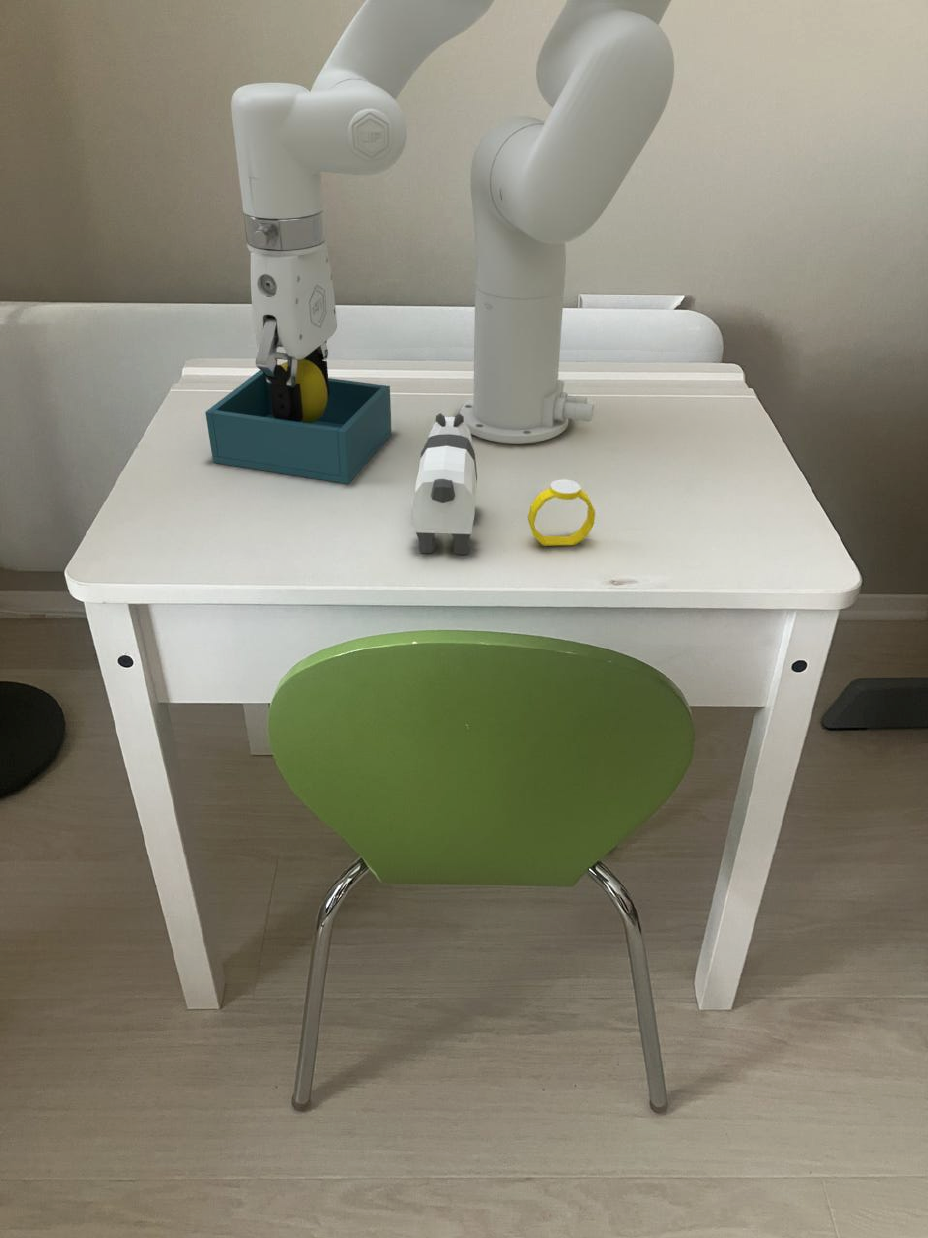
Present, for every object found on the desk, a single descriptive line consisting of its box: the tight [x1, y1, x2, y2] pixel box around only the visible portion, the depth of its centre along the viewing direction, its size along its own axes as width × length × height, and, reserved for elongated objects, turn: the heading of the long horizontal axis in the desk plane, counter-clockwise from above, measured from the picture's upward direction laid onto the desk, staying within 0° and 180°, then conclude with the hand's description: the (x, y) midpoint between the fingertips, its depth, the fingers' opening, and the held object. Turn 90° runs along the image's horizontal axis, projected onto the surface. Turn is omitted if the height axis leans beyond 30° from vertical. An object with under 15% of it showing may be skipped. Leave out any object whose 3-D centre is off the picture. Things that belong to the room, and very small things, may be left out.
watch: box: [527, 478, 596, 547], centre depth 89 cm, size 6×3×6 cm, turn 98°
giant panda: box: [411, 412, 478, 556], centre depth 91 cm, size 15×6×10 cm, turn 177°
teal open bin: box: [204, 369, 393, 485], centre depth 105 cm, size 16×13×6 cm
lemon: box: [282, 359, 328, 424], centre depth 103 cm, size 6×6×8 cm
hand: (302, 405), depth 103 cm, fingers open, 5 cm apart
